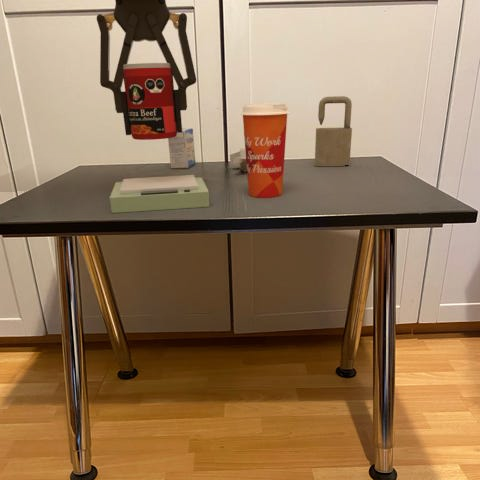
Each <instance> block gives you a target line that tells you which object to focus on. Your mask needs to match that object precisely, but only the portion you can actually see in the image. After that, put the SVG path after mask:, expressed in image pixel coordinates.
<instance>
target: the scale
mask: <svg viewBox="0 0 480 480" xmlns="http://www.w3.org/2000/svg"><path fill="white" fill-rule="evenodd" d="M109 204H110V211H111V214H119V213H120V214H121V213H136V212H151V211H152V212H153V211H165V210H166V211H167V210H168V211H169V210H183V209H196V208H197V209H198V208H210V192H209V189H208V188H207V185H206V183H205V181H204V180H203V177H202V176H201V177H199V176H198V177H195V175H194V174H188V175H185V174H184V175H169V176H167V175H166V176H151V177H135V178H134V177H133V178H123V180H122V181H116V182H115V184H114V185H113V188H112V191H111V193H110V195H109Z"/></svg>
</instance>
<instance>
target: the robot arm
mask: <svg viewBox="0 0 480 480" xmlns="http://www.w3.org/2000/svg"><path fill="white" fill-rule="evenodd" d="M169 21H170V22H171V24H172V27H173V29H174V30H176V31H177V38H178V41H179V45H180V46H179V47H180V51H181V55H182V59H183V64H184V69H185V73H186V76H187V77H186V78H184V77H183V75H182V73H181V71H180V68H179V66H178V65H177V62H176V60H175V58H174V56H173V54H172V52H171V49H170V47H169V45H168V43H167V41H166V38H165V36H164V34H163V32H164V30H165V28H166V26H167V24H168V22H169ZM96 22H97V26H98V29H99V33H100V48H99V49H100V51H99V52H100V53H99V54H100V57H99V62H100V63H99V64H100V65H99V80H100V81H99V84H100V86H101V87H102V88H105V89H108V90H110V91H111V92H112V94H113V100H114V106H115V109H114V110H115V111H116V113H117V114H122V116H123V122H124V130H125V136H132V135H131V132H130V124H129V116H128V108H127V100H126V92H125V91H122V87H123V84H124V78H123V76H124V72H123V65H124V64H129V60H130V55H131V53H132V49H133V46H134V42H135V43H140V42H144V41H147V42H156V44H157V46H158V47H159V50H160V52H161V54H162V56H163V58H164V60H165V63H169V64H170V67H171V72H172V74H173V80H174V81H175V84H176V86H177V89H174V96H175V109H176V121H177V132H178V133H182V128H183V126H182V125H183V124H182V111H187V109H188V99H187V89H188V88H189V87H191V86H193V85H195V84H196V83H197V76H196V70H195V65H194V62H193V58H192V52H191V47H190V44H189V39H188V33H187V23H188V16H187V14H186V13H185V12H181V13H178V12H177V13H176V12H171V11H170V9H169V7H168V6H167V1H166V0H115V5H114V9H113V12H112V13H108V14H101V13H99V14H97V15H96ZM115 22H116V23H117V24H118V26H119V27H120V28H121V30H122V31H123V32H124V33H125V34H124V38H123V42H122V47H121V51H120V55H119V58H118V63H117V67H116V70H115V75H114V78H113V80H110V70H111V68H110V67H111V63H110V61H111V33H110V32H111V31H113V30H114V23H115Z"/></svg>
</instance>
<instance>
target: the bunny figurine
mask: <svg viewBox="0 0 480 480" xmlns="http://www.w3.org/2000/svg"><path fill="white" fill-rule="evenodd" d="M229 163H230V164H229V165H230V166H235V167H239V168H240V171H242V172H243V173H247V164H246V151H245V147H244V148H239V151H237V152H234V153H231V154H229Z"/></svg>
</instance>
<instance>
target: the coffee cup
mask: <svg viewBox="0 0 480 480" xmlns="http://www.w3.org/2000/svg"><path fill="white" fill-rule="evenodd" d="M288 109H289V107H287V104H286V103H255V104H254V103H251V104H243V107H242V112H241V113H240V115H242V120H243V121H242V122H243V137H244V138H243V139H244V148H245V151H246V164H247V172H246V176H247V188H248V196H250V197H252V198H259V199H260V198H261V199H267V198H277V197H280V196H281V195H282V193H283V186H284V185H283V183H284V170H285V154H286V142H287V141H286V139H287V127H288V126H287V125H288V114H291V112H290V111H289V110H288Z"/></svg>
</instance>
